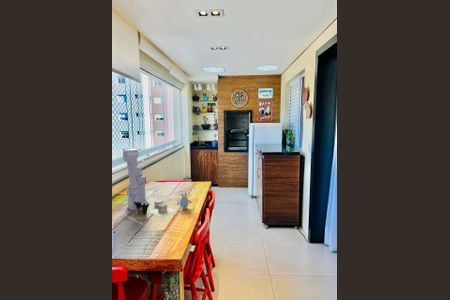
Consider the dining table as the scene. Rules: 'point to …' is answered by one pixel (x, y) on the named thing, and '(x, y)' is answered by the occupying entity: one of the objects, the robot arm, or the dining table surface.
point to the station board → (169, 210)
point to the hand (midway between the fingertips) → (142, 212)
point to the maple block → (162, 208)
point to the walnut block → (140, 211)
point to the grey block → (158, 203)
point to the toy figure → (184, 202)
